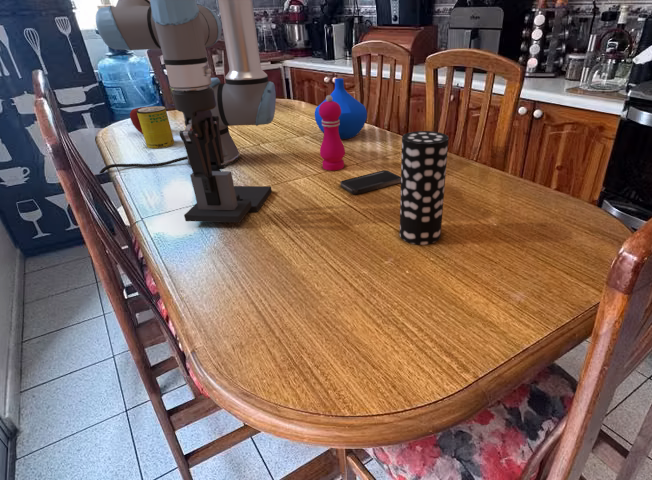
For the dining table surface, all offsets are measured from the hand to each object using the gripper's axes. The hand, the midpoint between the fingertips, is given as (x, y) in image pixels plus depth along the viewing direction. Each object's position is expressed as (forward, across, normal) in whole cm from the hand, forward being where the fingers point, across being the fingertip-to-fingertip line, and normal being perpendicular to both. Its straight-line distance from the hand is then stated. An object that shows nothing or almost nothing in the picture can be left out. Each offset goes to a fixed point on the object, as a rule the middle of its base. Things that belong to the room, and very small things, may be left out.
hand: (217, 201), depth 91 cm
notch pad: (+4, +10, 0) cm, 11 cm away
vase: (+5, +68, -18) cm, 71 cm away
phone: (+4, +22, -32) cm, 39 cm away
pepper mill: (+5, +35, -20) cm, 41 cm away
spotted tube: (+5, -5, -44) cm, 45 cm away
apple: (+5, +70, +56) cm, 90 cm away
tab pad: (+3, +2, 0) cm, 3 cm away
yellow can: (+5, +56, +44) cm, 72 cm away
